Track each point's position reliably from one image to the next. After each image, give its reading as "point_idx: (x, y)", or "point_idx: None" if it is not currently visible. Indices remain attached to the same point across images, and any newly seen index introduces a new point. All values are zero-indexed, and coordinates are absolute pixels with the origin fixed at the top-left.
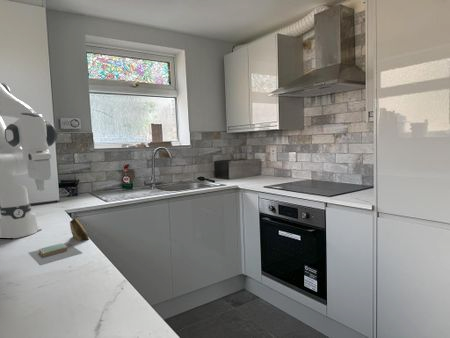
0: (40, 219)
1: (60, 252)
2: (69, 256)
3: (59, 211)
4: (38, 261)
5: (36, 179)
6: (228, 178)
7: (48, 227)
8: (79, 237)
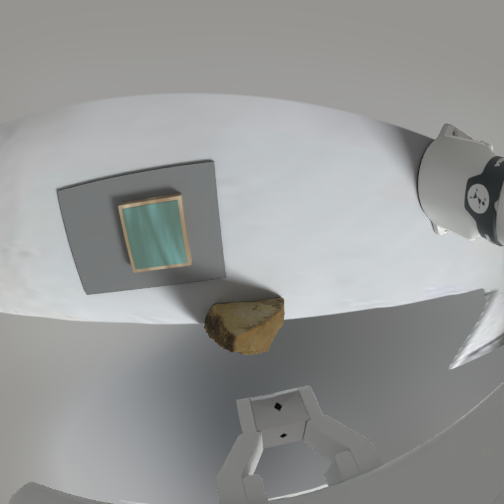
0: None
1: None
2: (78, 263)
3: (499, 280)
4: (89, 187)
5: (338, 476)
6: None
7: (439, 249)
8: (213, 314)
